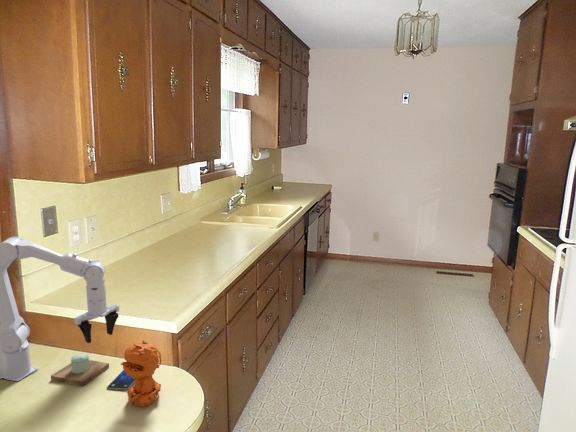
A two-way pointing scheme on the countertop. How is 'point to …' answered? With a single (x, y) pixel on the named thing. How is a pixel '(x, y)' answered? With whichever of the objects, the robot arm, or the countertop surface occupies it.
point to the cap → (80, 363)
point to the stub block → (81, 378)
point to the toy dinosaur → (142, 372)
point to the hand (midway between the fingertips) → (99, 337)
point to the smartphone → (121, 382)
